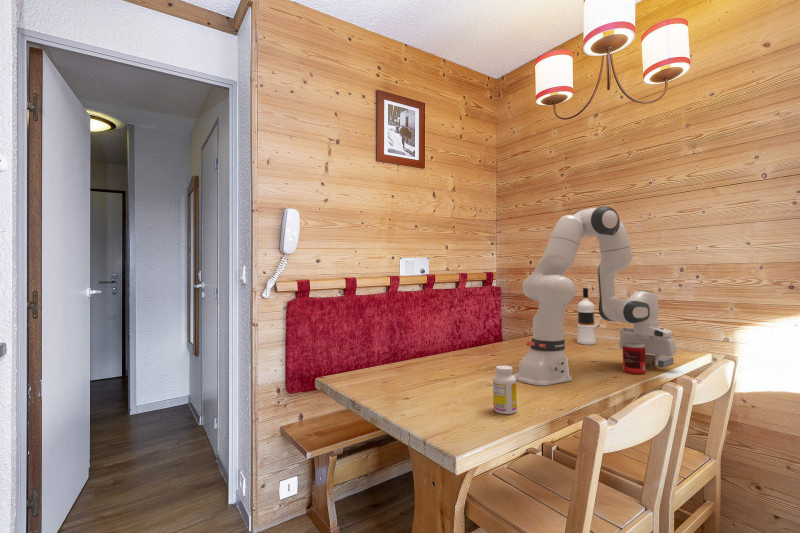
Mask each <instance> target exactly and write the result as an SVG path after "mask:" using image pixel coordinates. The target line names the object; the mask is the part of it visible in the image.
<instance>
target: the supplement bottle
mask: <svg viewBox="0 0 800 533" xmlns="http://www.w3.org/2000/svg"><path fill="white" fill-rule="evenodd" d="M495 372H496V374H495V375H494V376H493V377H492V393H493V394H492V396H493V410H494V411H495V412H496V413H497V414H501V415H513V414H516V413H517V410H518V406H517V405H518V400H517V397H518V396H517V395H518V394H517V380H516V378H515V377H514V376H513V375H514V374H513V367H512V366H511V365H497V366H495Z"/></svg>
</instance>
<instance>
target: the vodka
mask: <svg viewBox="0 0 800 533" xmlns="http://www.w3.org/2000/svg"><path fill="white" fill-rule="evenodd" d="M582 298H583V299H582V300H581V301H580V302H578V303H577V306H576V307H577V338H576V342H577V344H579V345H584V346H592V345H593V346H594V345H595V344H597V339H596V334H595V327H596V325H595V304H594V303H593V302H592V301H590V300H589V288H588V287H582Z"/></svg>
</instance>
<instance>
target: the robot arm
mask: <svg viewBox="0 0 800 533" xmlns="http://www.w3.org/2000/svg"><path fill="white" fill-rule="evenodd" d="M555 224H556V225H555V226H554V228H553V229H552V230H553V231H552V232H551V234H550V237H549V240H548V243H547V245H546V248H545V250H544V253H543V254H542V257H541V259H540V261H539V262H538V263H537V265H536V266H535V267H534V270H533V271H532V273H531V274H530V275H529V276H528V277H526V278H525V279H524V281H523V282H522V292H523V294H524V295H525V296H526V297H527V298H529V299H530V300H532V301H534V302H538V303H539V305H538V309H537V311H536V313H535V315H534V316H533V318H532V338H531V340H526V342H525V345H526V346H527V347H529V348H530V349H529V350H528V351H527V352H526V354H525V355H524V356H523V358H522V359H521V360H520V361H519V363H518V372H516V373H514V374H512V375H513V376H514V377H515V378H516V381H518V382H521V383H525V384H529V385H533V386H541V387H543V386H549V385H550V386H551V385H554V384H560V383H566V382H570V381H571V382H572V381H573V377H572V376H570V367H569V360H568V356H567V354H566V352H565V349H566V341H565V339H564V322H565V320H564V319H565V315H566V311H567V307H568V306H569V304H570V302H571V301H572V300H574V297H575V295H576V292H577V291H576V285H575V282H573V280H572V279H570V278H569V277H566V276H563V275H564V273H565V272H566V271H567V270H569V269H570V268H571V267H572V266H573V264H574V260H575V258H576V255H577V252H578V249H579V247H580V244H581V240H582V239H583V237H595V238H596V239H597V241H598V246H599V251H600V252H599V253H600V263H599V265H598V268H597V277H598V278H597V279H598V292H599V293H598V295H599V300H598V301H599V302H598V307H597V308H598V313H599V315H600V317H601V318H602V319H603V320H605V321H607V322H616V323H617V322H619V323H626V324H633V325H632V327H633V328H631V327H623V328H620V330H619V336H620V337H619V344H618V346H619V348H620V350H623V343H628V342H631V343H640V344H644V345H645V354H654V355H655V357H657V358H656V359H655V360H653V361H652V365H656V367H658V366H657V365H658V361H659V359H660V358H661V356H667V357H674V356H675V355H676V354H677V345H676V341H675V339H674V338H673V337H672V336H673V334H674V333H673V331H672V330H670V329H668V328H665V327H662V326H660V324H659V322H660V321H659V319H658V316H659V301H658V297H657V294H656V293H655V292H653V291H650V290H643V289H642V290H640V289H639V290H635V291H634V293H633V294H632V295H630V296H629V297H627V298H618V297H617V295H616V287H615V277H616V275H617V274H618V273H619V272H621V271H622V270H624V269H626V268H628V266H629V265H631V262H632V261H633V251H632V246H631V241H630V238H629V237H630V236H629V235H628V231H627V229H626V227H625V225H624V223H623V222H621V221H620V217H619V213H617V211H616V209H614V208H612V207H610V206H598V207H588V208H585V209H582V210H577V211H575V212H573V213H572V214H566V215H563V216H561V217H560V218H559V220H558V221H557V223H555Z"/></svg>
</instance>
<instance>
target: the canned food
mask: <svg viewBox="0 0 800 533" xmlns="http://www.w3.org/2000/svg"><path fill="white" fill-rule="evenodd" d="M645 354H646V353H645V345H644V344H640V343H631V342H628V343H623V349H622V369H623V372H624V373H626V374H630V375H635V374H636V375H639V376H640V374H642V375H645V373H646V370H647V369H645Z"/></svg>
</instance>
